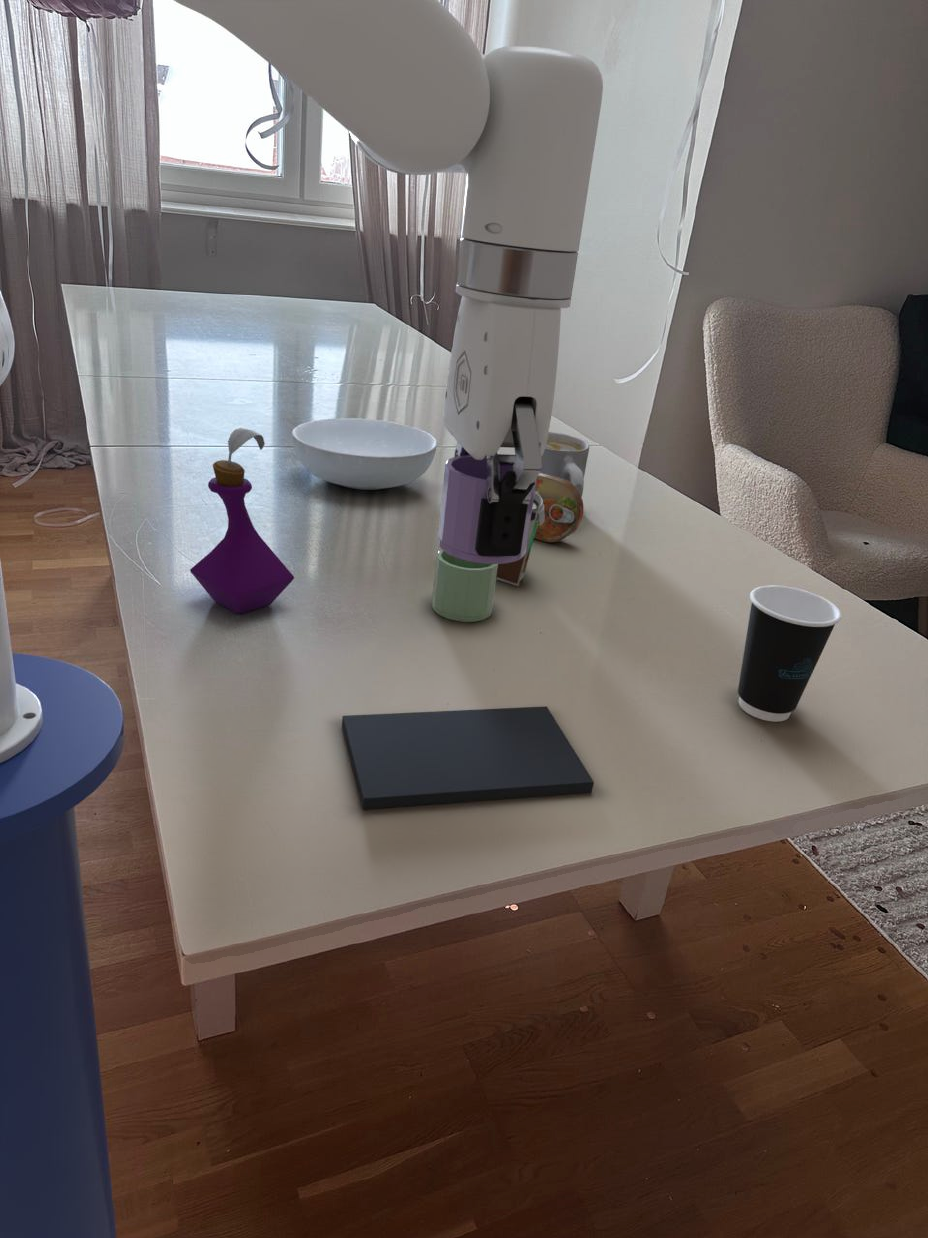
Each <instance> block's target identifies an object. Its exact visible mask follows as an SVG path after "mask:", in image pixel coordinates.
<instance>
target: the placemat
mask: <svg viewBox="0 0 928 1238" xmlns="http://www.w3.org/2000/svg"><path fill="white" fill-rule="evenodd" d="M341 727H342V731H343V735H344V739H345V743H346V747H347V751H348V755H349V760H350V763H351V767H352V772H353V775H354V779H355V784H356V787H357V791H358V795H359V798H360V803H361V807H362V810H374V809H387V808H401V807H412V806H413V807H414V806H415V807H416V806H426V805H427V806H428V805H438V804H439V805H441V804H453V803H467V802H479V801H493V800H505V799H518V798H519V799H520V798H521V799H522V798H533V797H546V796H558V795H571V794H572V795H573V794H585V793H586V794H587V793H593V790H594V784H595V781H594V779H593V778H592V776H591V775H590V773H589V772H588V770H587V769H586V767H585V765H584V764H583V762H582V760H581V759H580V758H579V756H578V754H577V753H576V751H575V749H574V748H573V746H572V745H571V743H570V741H569V740H568V738H567V736H566V735H565V733H564V731H563V730H562V729H561V726H560V725H559V724H558V722H557V721H556V718H555V717H554V716H553V714H552V713H551V711H550V709H549V708H548V706H544V705H543V706H525V707H524V706H523V707H506V708H505V707H502V708H484V709H481V708H480V709H459V710H458V709H457V710H437V711H416V712H396V713H395V712H393V713H371V714H353V715H342V717H341Z"/></svg>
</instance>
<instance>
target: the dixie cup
mask: <svg viewBox="0 0 928 1238" xmlns="http://www.w3.org/2000/svg"><path fill="white" fill-rule="evenodd" d="M749 599H750V601H751V605H750V611H749V617H748V624H747V631H746V637H745V643H744V649H743V654H742V655H743V656H742V660H741V661H742V662H741V668H740V674H739V680H738V681H739V682H738V687H737V693H738V696H739V697H738V705H739V707H740V708H741V709H742V711H744V712H745V713H747V714H748V715H750V716H752V717H754V718H756V719H760V720H763V721H767V722H775V723H776V722H777V723H778V722H784V721H787V720H788V719H789V718H790V716H791V714H792V712H794V711H795V710H796V708H797V707H798V705H799V702H800V700H801V698H802V697H803V694H804V692H805V690H806V688H807V686H808V683H809V681H810V679H811V677H812V674H813V673H814V670H815V668H816V666H817V664H818V662H819V660H820V657H821V655H822V653H823V651H824V649H825V647H826V644H827V643H828V640H829V639H830V637H831V634H832V632H833V630H834V628H835V625H836V624H838V623H839V622H840V621H841V620H842V612H841V610H840V609H839V607H838V606H837V605H835V603H833V602H832V601H830V600H828V599H827V598H825V597H823V596H821V595H818V594H816V593H815V592H814V593H813V592H811V591H807V590H806V589H805V590H804V589H801V588H796V587H791V586H785V585H775V584H774V585H772V584H771V585H770V584H769V585H761V586H759V587H755V588H754V589H753V590H751V592H750V594H749Z"/></svg>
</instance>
